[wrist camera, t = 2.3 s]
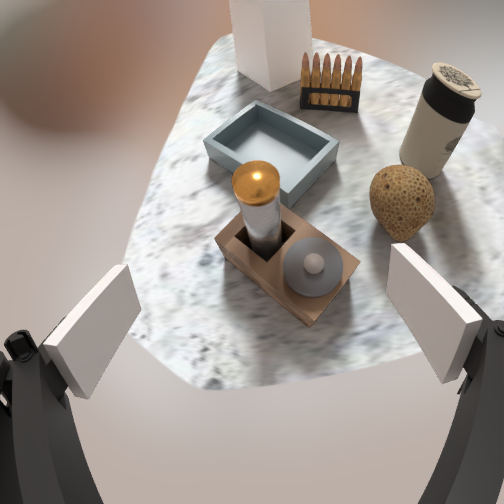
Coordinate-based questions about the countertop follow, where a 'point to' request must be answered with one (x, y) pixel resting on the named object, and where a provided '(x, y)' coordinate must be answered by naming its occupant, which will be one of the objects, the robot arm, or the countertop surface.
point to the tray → (274, 147)
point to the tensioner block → (292, 265)
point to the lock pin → (260, 205)
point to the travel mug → (439, 119)
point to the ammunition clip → (330, 85)
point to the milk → (271, 40)
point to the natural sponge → (401, 200)
